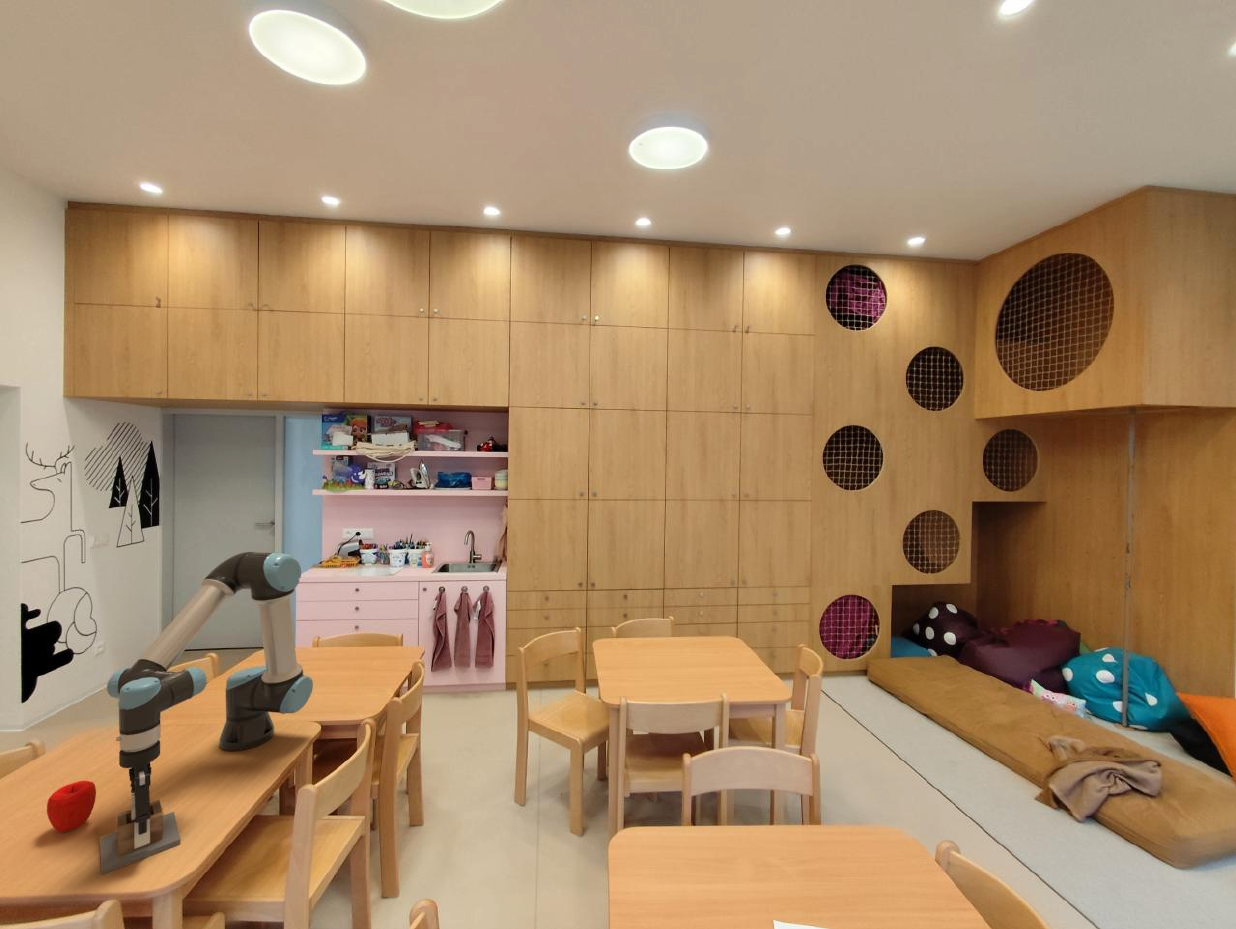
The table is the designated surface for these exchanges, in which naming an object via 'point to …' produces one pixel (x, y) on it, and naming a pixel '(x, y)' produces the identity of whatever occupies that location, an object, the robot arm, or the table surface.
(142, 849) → the stand
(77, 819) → the apple
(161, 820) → the frame
